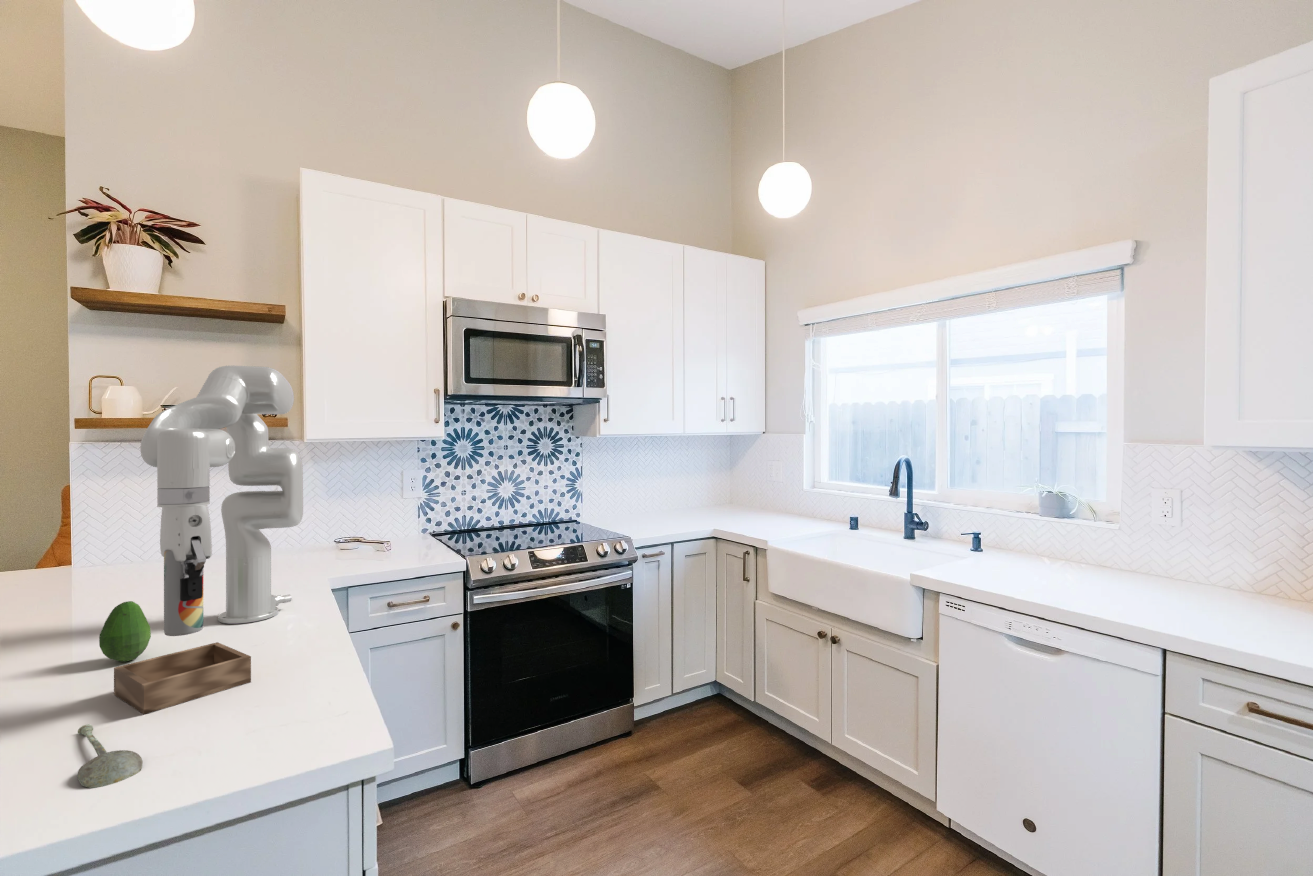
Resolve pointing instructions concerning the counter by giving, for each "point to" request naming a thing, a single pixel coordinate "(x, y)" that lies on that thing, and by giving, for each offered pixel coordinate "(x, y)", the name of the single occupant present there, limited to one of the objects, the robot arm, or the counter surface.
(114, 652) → the avocado
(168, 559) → the lotion bottle
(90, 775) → the soupspoon
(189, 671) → the walnut tray
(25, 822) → the counter surface
